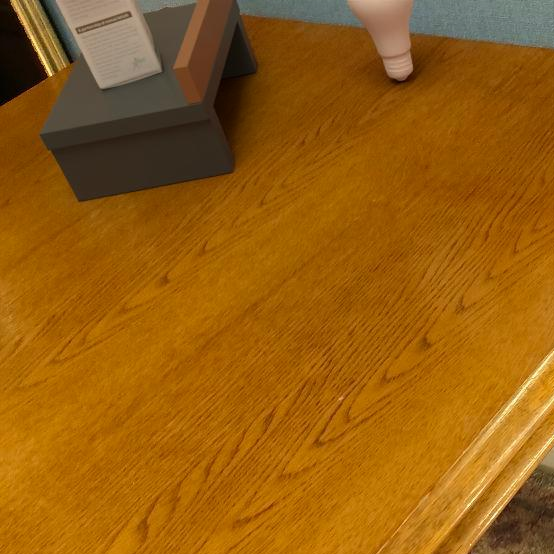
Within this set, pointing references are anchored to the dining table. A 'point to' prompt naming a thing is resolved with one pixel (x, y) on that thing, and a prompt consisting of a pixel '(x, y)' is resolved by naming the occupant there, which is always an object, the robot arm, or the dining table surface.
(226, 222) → the dining table surface
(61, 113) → the grey lidded gift box
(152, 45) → the syrup box
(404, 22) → the lightbulb
